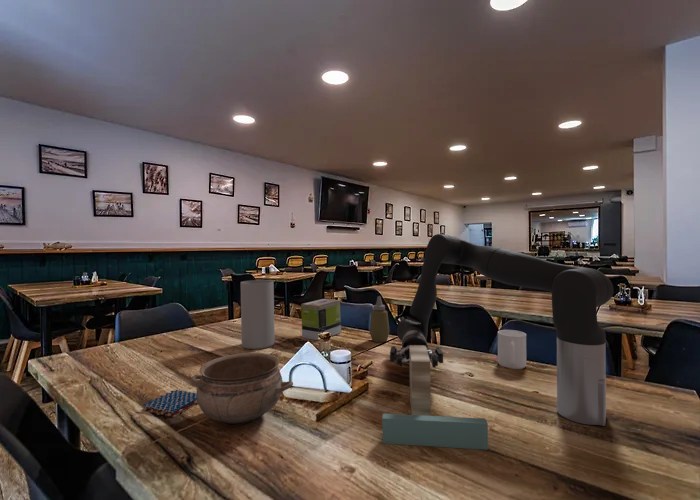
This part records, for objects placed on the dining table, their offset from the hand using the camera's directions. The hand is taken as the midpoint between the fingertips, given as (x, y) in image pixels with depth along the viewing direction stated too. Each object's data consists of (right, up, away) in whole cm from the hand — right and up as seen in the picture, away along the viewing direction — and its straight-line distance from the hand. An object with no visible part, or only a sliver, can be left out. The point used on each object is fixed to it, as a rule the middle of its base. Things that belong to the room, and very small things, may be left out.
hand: (417, 363), depth 91 cm
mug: (+34, -8, +20) cm, 40 cm away
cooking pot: (-42, -10, -10) cm, 44 cm away
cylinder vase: (-53, -8, +48) cm, 72 cm away
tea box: (-29, -8, +61) cm, 68 cm away
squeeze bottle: (-5, -8, +51) cm, 52 cm away
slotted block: (-1, -9, -9) cm, 12 cm away
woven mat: (-61, -10, -3) cm, 62 cm away
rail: (-1, -9, -21) cm, 23 cm away
